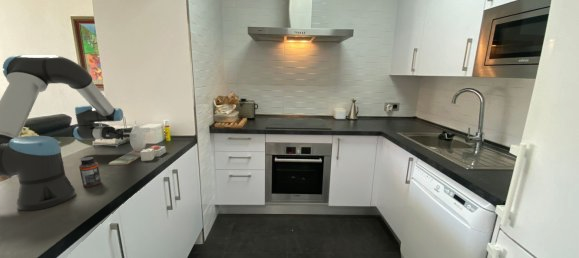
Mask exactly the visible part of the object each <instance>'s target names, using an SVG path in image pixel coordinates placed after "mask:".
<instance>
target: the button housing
mask: <svg viewBox="0 0 579 258" xmlns="http://www.w3.org/2000/svg"><path fill="white" fill-rule="evenodd" d="M158 146H159V147H160V149H158V150H154V155H155V157H161V156H162V155H164V154H165V153H166V152H167V150H166V146H165V145H164V146H162V145H161V146H160V145H158ZM147 149H150V147H148V148H147ZM155 157H154V158H155Z"/></svg>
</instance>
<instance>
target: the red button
mask: <svg viewBox="0 0 579 258" xmlns="http://www.w3.org/2000/svg"><path fill="white" fill-rule="evenodd" d="M159 146H160V145H152V146H150V147H149V148H150V149H154V150H158V149H160V147H159Z"/></svg>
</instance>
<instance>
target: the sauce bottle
mask: <svg viewBox="0 0 579 258" xmlns="http://www.w3.org/2000/svg"><path fill="white" fill-rule="evenodd" d="M134 123H135V124H134V125H133V126H132V128H133V129H132V131H131V133H136V135H137V138H129V143H130V147H131V148H132V149H133V150H136V151H141V150H143V149H146V145H147V138H146V135H145V132H143V131H142V129H141V128H142V127H140V126H139V124H137V122H136V120H134ZM138 126H139V127H138Z"/></svg>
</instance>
